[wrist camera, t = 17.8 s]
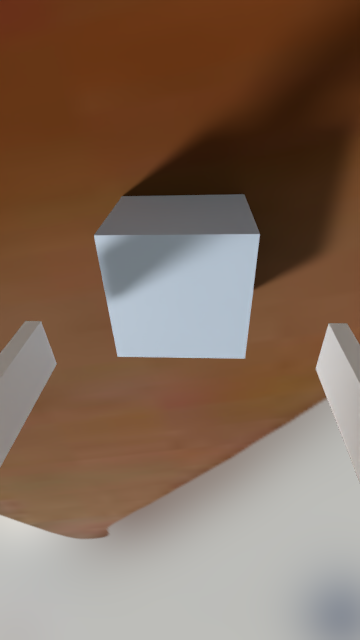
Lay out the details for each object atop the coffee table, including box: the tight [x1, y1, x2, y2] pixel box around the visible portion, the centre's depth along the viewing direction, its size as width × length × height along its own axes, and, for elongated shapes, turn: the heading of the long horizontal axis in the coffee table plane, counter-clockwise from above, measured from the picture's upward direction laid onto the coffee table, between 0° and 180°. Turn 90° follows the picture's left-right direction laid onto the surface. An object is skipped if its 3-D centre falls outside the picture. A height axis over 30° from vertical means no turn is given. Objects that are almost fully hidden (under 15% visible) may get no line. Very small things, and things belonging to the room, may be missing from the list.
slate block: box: [94, 194, 260, 358], centre depth 20 cm, size 8×8×7 cm
